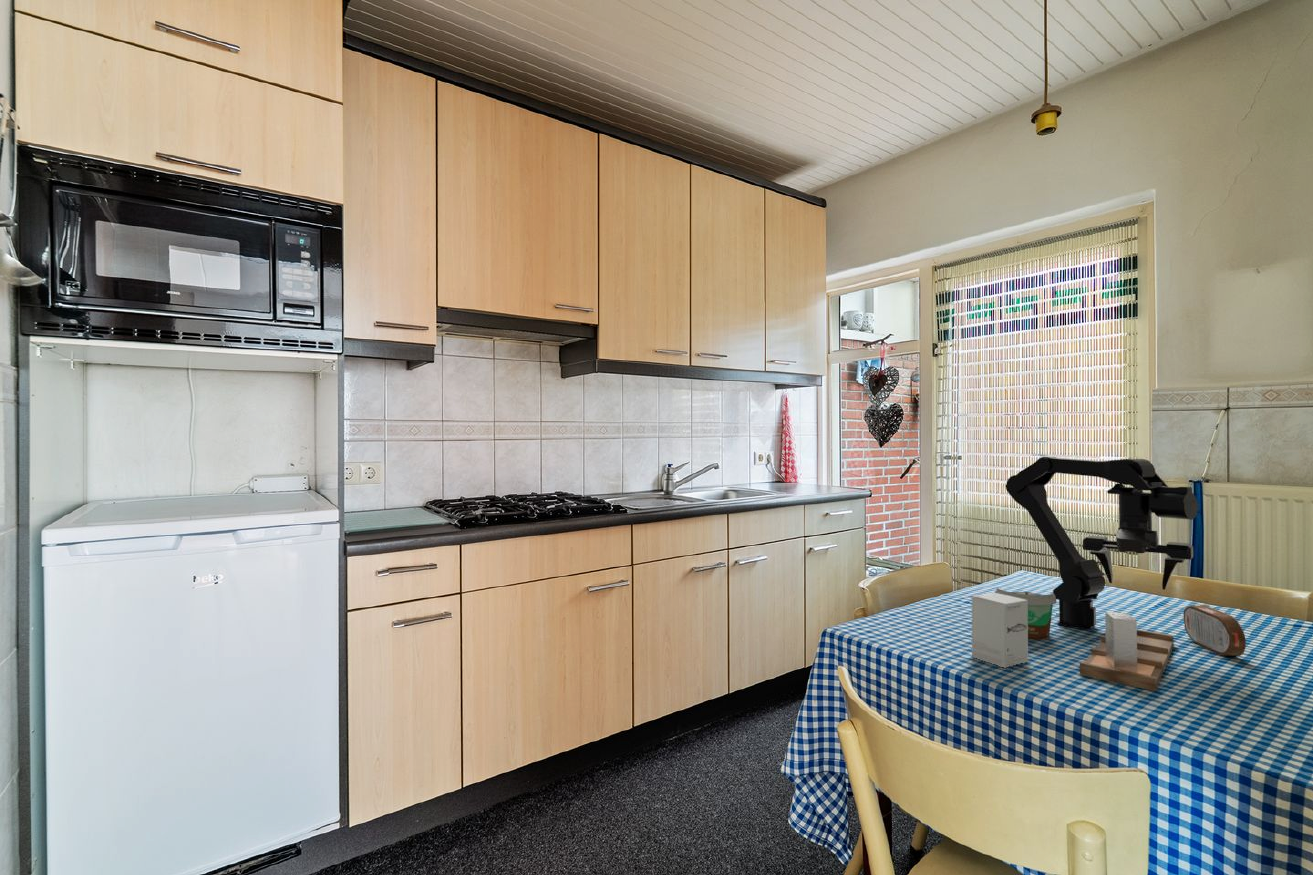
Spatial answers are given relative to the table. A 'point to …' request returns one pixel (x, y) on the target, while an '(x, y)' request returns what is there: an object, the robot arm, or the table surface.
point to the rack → (1149, 661)
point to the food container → (1036, 612)
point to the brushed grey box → (1121, 641)
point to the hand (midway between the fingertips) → (1136, 586)
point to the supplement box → (1000, 629)
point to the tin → (1214, 630)
